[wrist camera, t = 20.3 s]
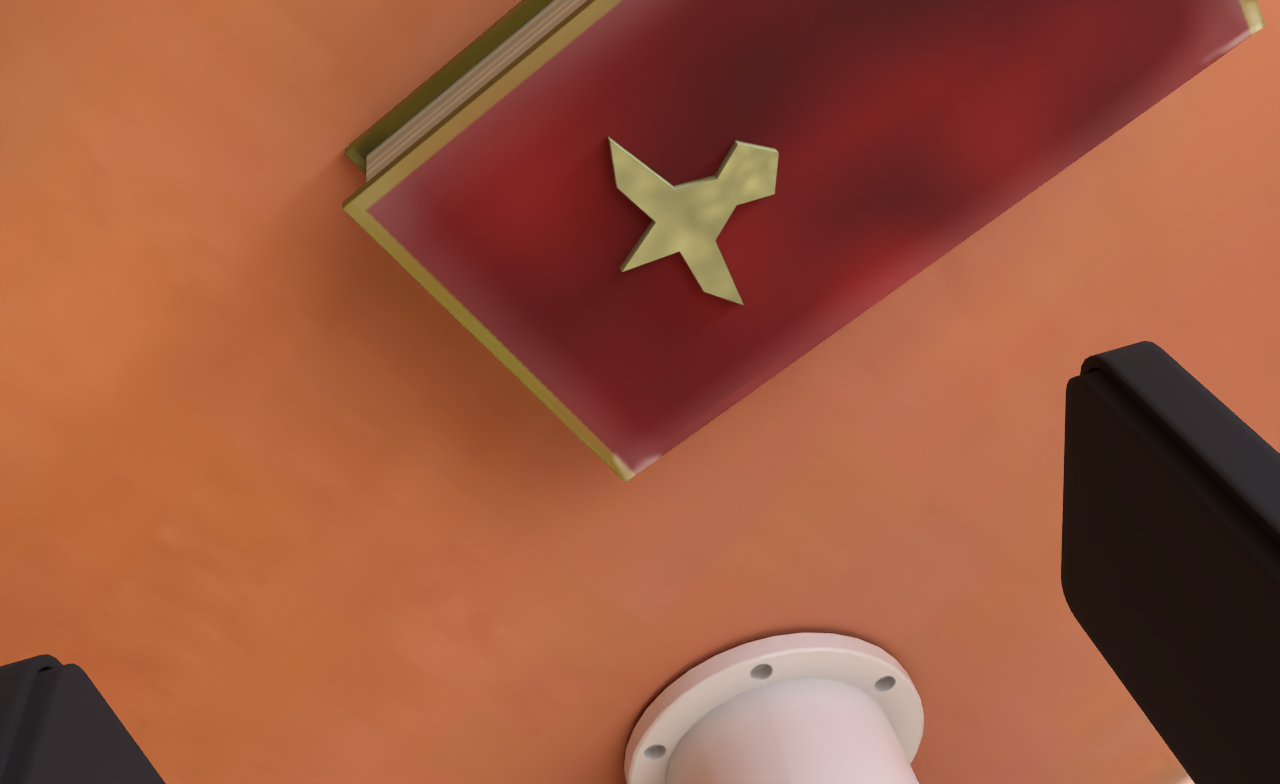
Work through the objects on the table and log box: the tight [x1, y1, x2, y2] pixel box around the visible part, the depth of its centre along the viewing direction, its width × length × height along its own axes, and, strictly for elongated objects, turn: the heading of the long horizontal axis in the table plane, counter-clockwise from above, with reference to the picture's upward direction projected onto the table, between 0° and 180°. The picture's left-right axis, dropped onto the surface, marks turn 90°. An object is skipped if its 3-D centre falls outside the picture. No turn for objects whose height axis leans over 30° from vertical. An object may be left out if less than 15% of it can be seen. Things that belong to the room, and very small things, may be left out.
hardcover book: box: [342, 0, 1265, 482], centre depth 30 cm, size 12×21×4 cm, turn 126°
